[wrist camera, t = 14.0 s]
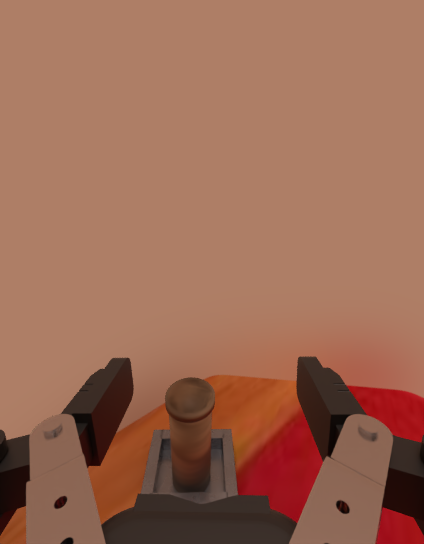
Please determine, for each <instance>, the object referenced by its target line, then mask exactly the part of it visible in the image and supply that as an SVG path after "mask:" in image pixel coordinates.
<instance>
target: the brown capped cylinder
mask: <svg viewBox="0 0 424 544" xmlns="http://www.w3.org/2000/svg"><path fill="white" fill-rule="evenodd" d="M165 403H166V410H167V412H168V414H169V421H170V440H171V459H172V477H173V485H174V487H175V489H176V490H177V492H178V493H188V492H204V491H205V490H206V488H207V487H208V485H209V482H210V473H211V420H212V410H213V408H214V405H215V392H214V389H213V388H212V386H211V385H210V384H209V383H208V382H206V381H204V380H202V379H199V378H184V379H181V380H179V381H176V382H175V383H173V384H172V385H171V386H170V387H169V388H168V390H167V392H166V396H165Z"/></svg>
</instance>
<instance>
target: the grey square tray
mask: <svg viewBox="0 0 424 544" xmlns="http://www.w3.org/2000/svg"><path fill="white" fill-rule="evenodd" d="M141 494H170V495H173V496H176V497H180V498H183V499H186V500H189V501H192V502H195V503H198V504H205V503H209V502H213V501H216V500H220V499H224V498H227V497H231V496H235V495H238V493H237V482H236V472H235V462H234V452H233V442H232V432H231V429H211V473H210V482H209V485H208V487H207V488H206V490H205V491H204V492H188V493H178V492H177V490H176V489H175V487H174V485H173V477H172V459H171V440H170V430H154V432H153V437H152V442H151V447H150V452H149V456H148V461H147V466H146V471H145V476H144V480H143V485H142V490H141Z"/></svg>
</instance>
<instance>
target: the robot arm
mask: <svg viewBox="0 0 424 544" xmlns="http://www.w3.org/2000/svg"><path fill="white" fill-rule="evenodd" d="M297 368H298V369H297V395H298V399H299V402H300V405H301V407H302V410H303V412H304V415H305V417H306V420H307V422H308V425H309V427H310V430H311V432H312V435H313V437H314V440H315V442H316V445H317V447H318V450H319V452H320V455H321V457H322V460H323V464H322V467H321V469H320V471H319V474H318V476H317V478H316V481H315V483H314V486H313V488H312V490H311V493H310V495H309V497H308V500H307V502H306V504H305V507H304V509H303V512H302V514H301V516H300V519H299V521H298V523H296V522H295V521H293V520H292V519H291V518H289V517H287V516H286V515H284V514H282V513H280V512H278V511H275V510H272V509H270V506H269V500H268V496H253V495H235V496H231V497H227V498H224V499H220V500H216V501H213V502H209V503H205V504H198V503H195V502H192V501H189V500H186V499H183V498H180V497H176V496H173V495H170V494H138V496H137V499H136V503H135V506H134V507H132V508H129V509H127V510H124V511H122V512H120V513H118V514H116V515H114V516H113V517H111V518H110V519H108V520H107V521H105V522H104V523H103V524H102V525H101V523H100V519H99V514H98V510H97V506H96V502H95V498H94V494H93V490H92V486H91V482H90V478H89V474H88V470H87V468H88V466H100V465H101V463H102V461H103V459H104V457H105V455H106V452H107V450H108V448H109V446H110V444H111V442H112V440H113V438H114V436H115V434H116V431H117V429H118V427H119V425H120V423H121V421H122V419H123V417H124V414H125V412H126V410H127V408H128V406H129V404H130V402H131V400H132V396H133V378H132V370H131V362H130V359H129V358H113V359H111V360H110V362H109V363H108V365H107V366H106V367H105V369H100V370H98V371H97V372H95V373H94V374H93V375H91V376H90V378H89V379H88V380H87V381H86V383H85V385H83V386H82V388H81V389H80V390H79V392H78V393H77V394H76V395H75V396H74V398H73V399H72V400H71V402H70V403H69V404H68V405H67V407H66V408H65V409H64V410H63V412H62V413H61V414H59V415H55V416H52V417H50V418H48V419H46V420H44V421H43V422H41V423H40V424H38V426H36V427H35V428H34V429H33V431H32V432H31V434H30V435H26V436H22V437H18V438H14V439H10V440H6V436H5V433H4V431H2V430H0V535H1V534H2V532H3V530H4V529H5V527H6V526H7V524H8V522H9V521H10V519H11V518H12V516H13V515H14V513H15V511H16V510H17V509H18V508H21V507H24V506H26V544H377V538H378V532H379V526H380V520H381V514H382V508H383V507H384V508H387V509H390V510H393V511H396V512H399V513H402V514H405V515H408V516H411V517H414V519H415V521H416V522H417V524H418V526H419V528H420V529H421V531H422V533H423V535H424V435H423V437H422V442H421V443H420V442H416V441H412V440H408V439H404V438H400V437H397V436H394V435H392V433H391V432H390V430H389V429H388V428H387V427H386V426H385V425H384V424H383V423H381V422H380V421H378V420H377V419H375V418H372V417H370V416H367V414H366V413H365V412H364V410H363V409H362V407H361V406H360V404H359V403H358V402H357V400H356V399H355V397H354V396H353V394H352V393H351V392H350V391H349V389H348V387H347V386H346V385H345V383H344V382H343V380H342V379H341V377H340V376H339V375H338V374H337V373H335V372H334V371H333V370H331V369H330V368H323V367H322V365H321V364H320V362H319V361H318V359H317V358H316V357H299V358H298V366H297Z"/></svg>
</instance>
